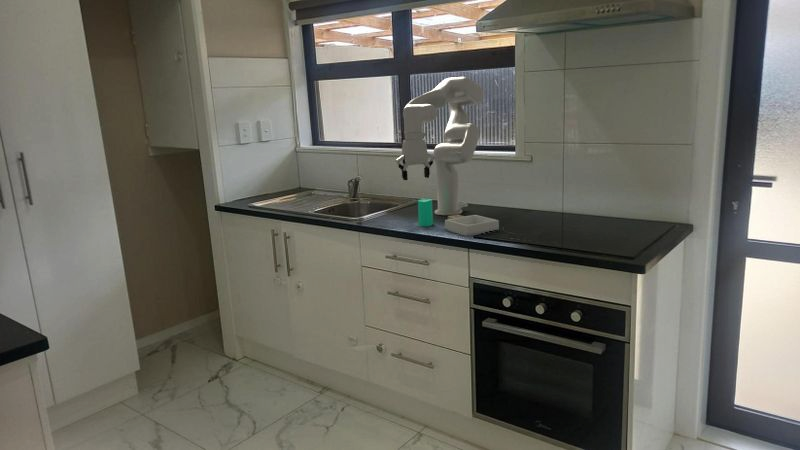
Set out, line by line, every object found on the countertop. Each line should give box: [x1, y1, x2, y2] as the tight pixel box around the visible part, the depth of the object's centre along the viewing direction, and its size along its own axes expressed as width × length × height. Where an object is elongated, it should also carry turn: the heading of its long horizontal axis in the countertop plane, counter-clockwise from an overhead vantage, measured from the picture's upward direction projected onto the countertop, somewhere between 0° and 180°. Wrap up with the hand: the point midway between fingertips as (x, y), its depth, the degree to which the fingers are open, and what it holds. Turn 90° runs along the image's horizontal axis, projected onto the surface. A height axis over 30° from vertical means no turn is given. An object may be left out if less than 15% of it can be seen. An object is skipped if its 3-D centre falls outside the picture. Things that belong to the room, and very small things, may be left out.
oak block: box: [447, 214, 465, 220], centre depth 239 cm, size 5×5×4 cm
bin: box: [444, 214, 500, 237], centre depth 229 cm, size 15×15×4 cm
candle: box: [417, 198, 434, 227], centre depth 242 cm, size 6×6×12 cm
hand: (416, 178), depth 240 cm, fingers open, 9 cm apart
